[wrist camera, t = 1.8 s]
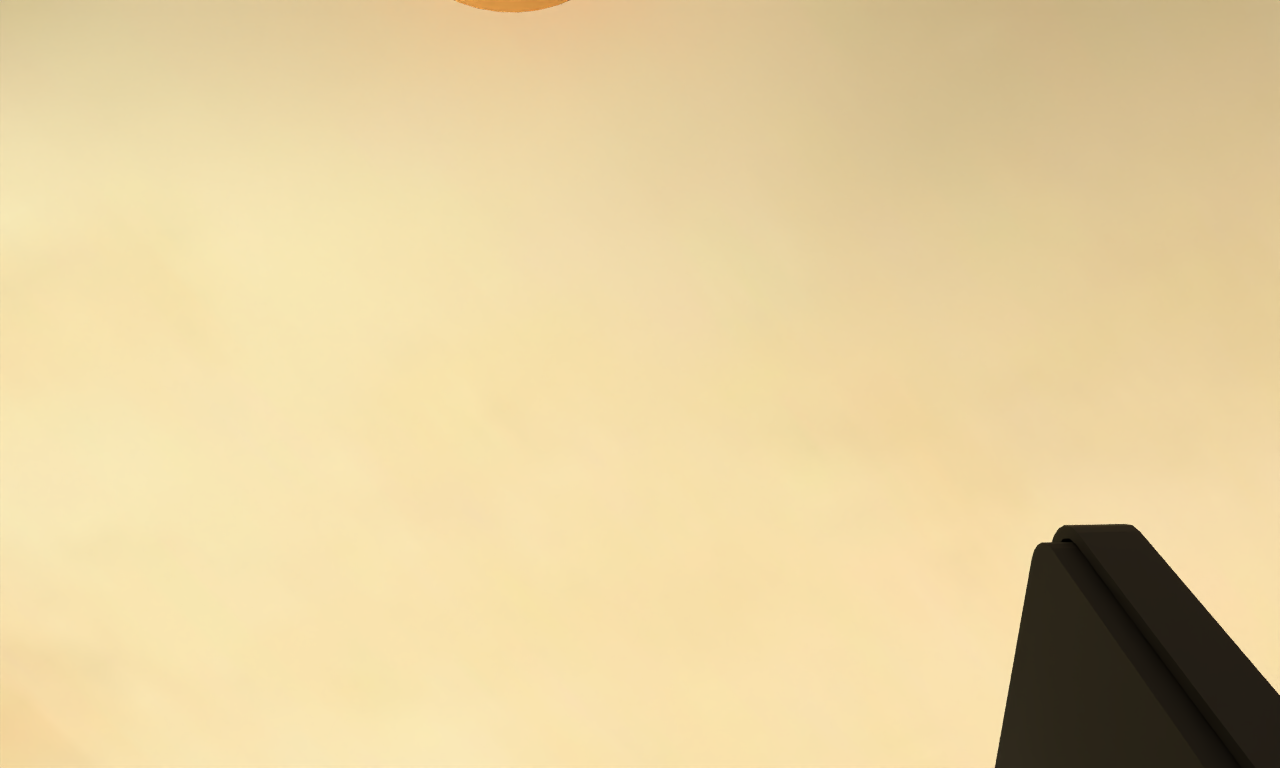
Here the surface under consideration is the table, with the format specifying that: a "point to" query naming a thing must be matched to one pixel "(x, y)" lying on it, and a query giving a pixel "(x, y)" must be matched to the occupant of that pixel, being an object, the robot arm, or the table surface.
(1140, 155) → the table surface
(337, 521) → the table surface
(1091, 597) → the robot arm
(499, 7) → the ball
